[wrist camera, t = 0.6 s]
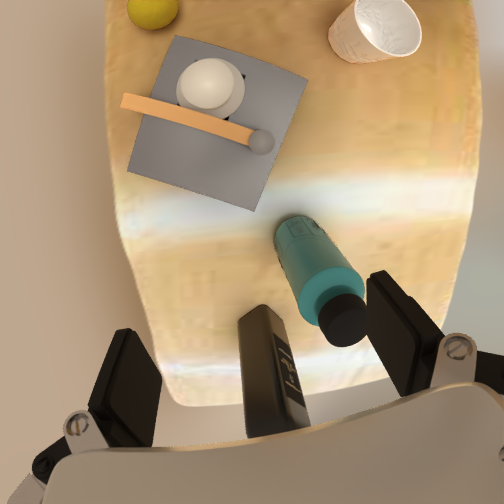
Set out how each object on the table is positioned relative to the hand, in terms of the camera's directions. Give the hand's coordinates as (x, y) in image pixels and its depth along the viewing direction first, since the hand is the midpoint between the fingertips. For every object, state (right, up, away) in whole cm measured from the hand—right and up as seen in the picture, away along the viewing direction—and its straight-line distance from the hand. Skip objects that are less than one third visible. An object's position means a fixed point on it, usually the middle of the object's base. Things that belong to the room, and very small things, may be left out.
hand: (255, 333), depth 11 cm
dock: (-4, +18, +21) cm, 28 cm away
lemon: (-11, +31, +15) cm, 36 cm away
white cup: (+12, +30, +18) cm, 37 cm away
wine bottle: (+1, -8, +34) cm, 35 cm away
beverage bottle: (+6, +6, +28) cm, 29 cm away
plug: (-5, +21, +20) cm, 29 cm away
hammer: (-6, +17, +17) cm, 25 cm away
